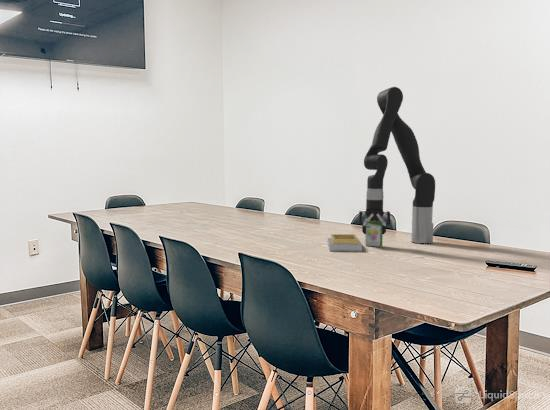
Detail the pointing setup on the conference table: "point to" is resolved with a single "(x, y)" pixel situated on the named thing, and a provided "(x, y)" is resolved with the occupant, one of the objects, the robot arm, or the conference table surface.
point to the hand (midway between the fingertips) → (373, 233)
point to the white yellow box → (344, 242)
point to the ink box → (374, 233)
